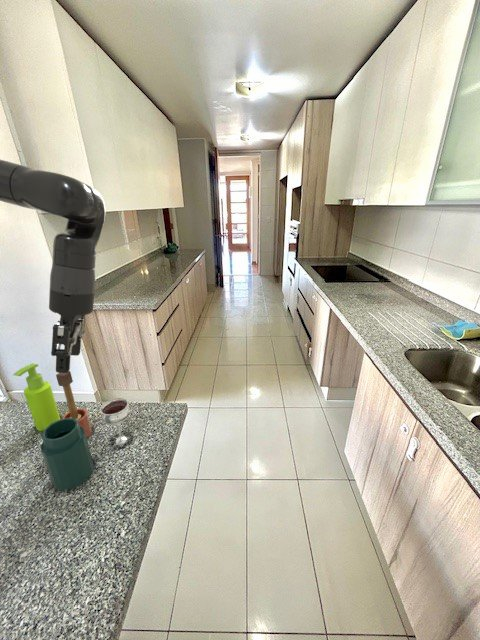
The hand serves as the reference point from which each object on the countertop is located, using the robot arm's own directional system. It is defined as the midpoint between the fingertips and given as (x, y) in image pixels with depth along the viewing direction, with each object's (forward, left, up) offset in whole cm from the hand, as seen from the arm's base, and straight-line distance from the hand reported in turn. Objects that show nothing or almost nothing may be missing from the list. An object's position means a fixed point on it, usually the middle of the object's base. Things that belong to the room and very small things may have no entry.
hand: (68, 362), depth 55 cm
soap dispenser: (-21, +9, -28) cm, 36 cm away
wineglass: (+4, +6, -28) cm, 29 cm away
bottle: (-2, -4, -28) cm, 28 cm away
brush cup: (-9, +7, -28) cm, 30 cm away
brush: (-9, +7, -28) cm, 30 cm away
